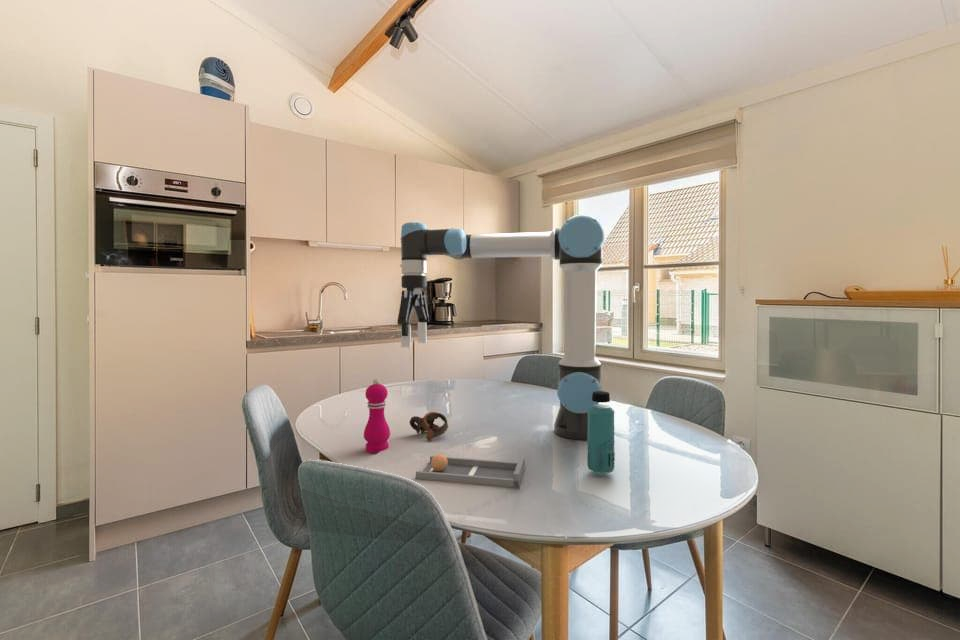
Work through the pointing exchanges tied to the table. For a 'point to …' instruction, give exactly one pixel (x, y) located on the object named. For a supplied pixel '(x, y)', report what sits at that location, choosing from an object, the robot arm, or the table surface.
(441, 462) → the ball
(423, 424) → the brown pretzel knot
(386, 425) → the pepper mill
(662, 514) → the table surface
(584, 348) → the robot arm
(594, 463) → the beverage bottle
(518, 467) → the lane
